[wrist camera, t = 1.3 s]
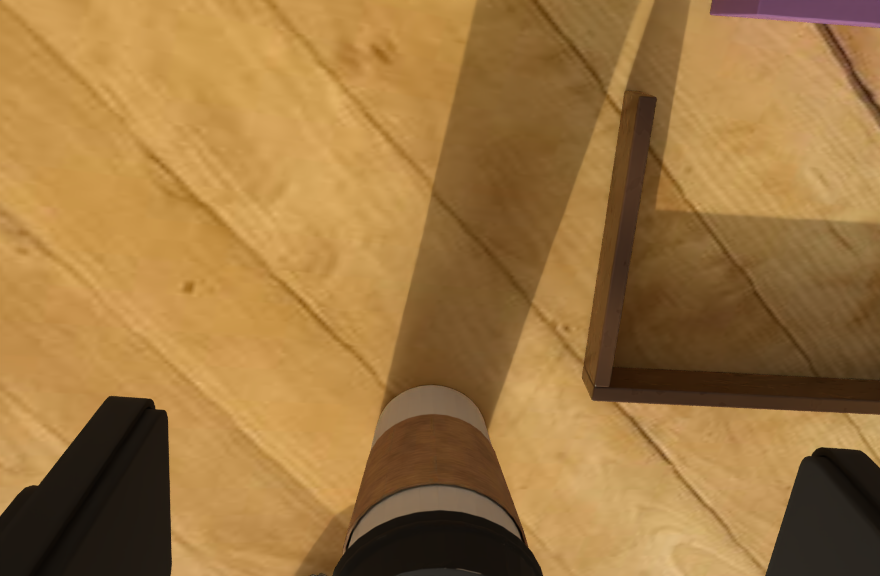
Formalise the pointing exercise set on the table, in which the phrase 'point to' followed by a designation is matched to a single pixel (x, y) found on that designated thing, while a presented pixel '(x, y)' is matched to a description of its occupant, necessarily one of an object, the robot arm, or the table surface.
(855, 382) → the walnut bay
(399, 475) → the coffee cup
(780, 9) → the plum block
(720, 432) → the table surface
